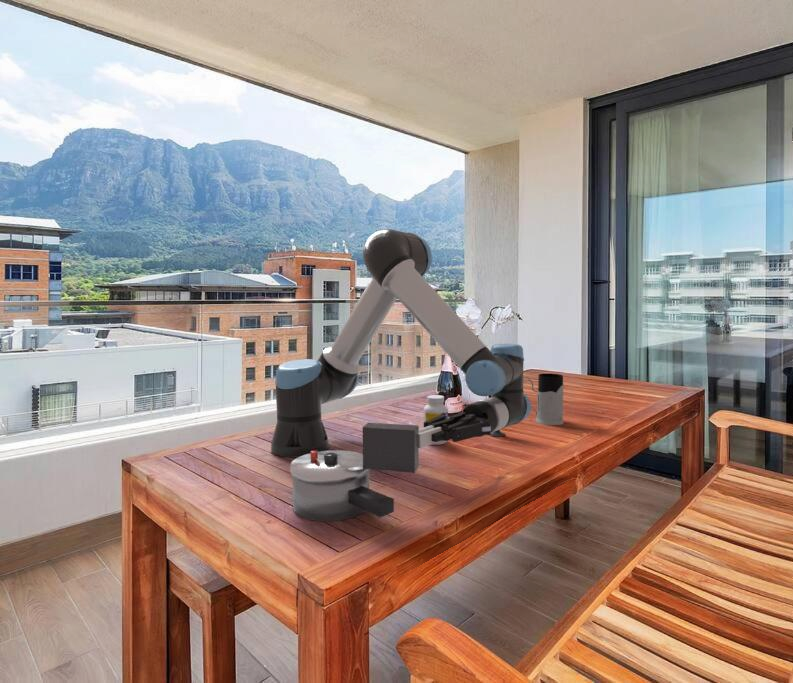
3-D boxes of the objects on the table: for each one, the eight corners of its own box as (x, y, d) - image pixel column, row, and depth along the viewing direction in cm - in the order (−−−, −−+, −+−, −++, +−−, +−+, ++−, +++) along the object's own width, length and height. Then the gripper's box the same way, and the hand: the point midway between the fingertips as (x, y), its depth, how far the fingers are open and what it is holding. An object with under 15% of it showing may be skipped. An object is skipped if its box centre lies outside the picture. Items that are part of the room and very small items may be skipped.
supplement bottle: (450, 444, 139) (450, 398, 138) (426, 446, 138) (426, 399, 137) (444, 438, 146) (444, 393, 144) (421, 439, 145) (421, 394, 143)
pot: (270, 500, 103) (269, 466, 102) (330, 480, 113) (329, 450, 113) (354, 546, 84) (353, 505, 83) (416, 517, 94) (416, 481, 94)
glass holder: (563, 426, 157) (564, 378, 156) (516, 422, 162) (517, 375, 161) (564, 419, 166) (565, 373, 164) (519, 416, 170) (520, 371, 169)
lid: (275, 479, 94) (274, 430, 93) (310, 453, 109) (309, 411, 108) (407, 491, 88) (407, 439, 87) (424, 462, 103) (424, 417, 102)
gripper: (512, 439, 110) (444, 467, 93) (458, 428, 120) (388, 451, 103) (512, 405, 109) (444, 427, 92) (458, 396, 119) (387, 415, 102)
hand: (414, 439), depth 98 cm, fingers closed
